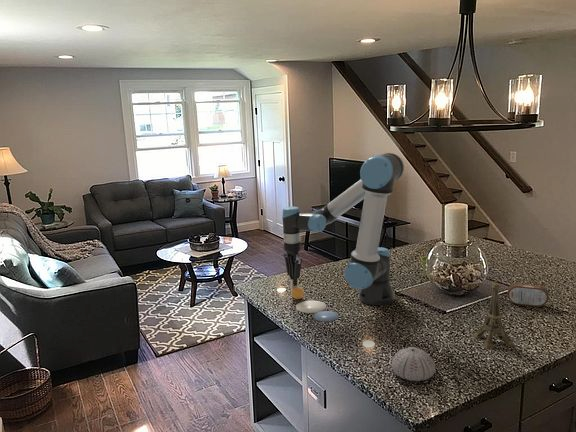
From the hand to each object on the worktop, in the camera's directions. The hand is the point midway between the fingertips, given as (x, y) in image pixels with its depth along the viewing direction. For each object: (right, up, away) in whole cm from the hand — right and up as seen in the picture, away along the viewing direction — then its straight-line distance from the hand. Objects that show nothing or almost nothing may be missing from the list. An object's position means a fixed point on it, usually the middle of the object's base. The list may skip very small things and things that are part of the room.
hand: (294, 291), depth 215 cm
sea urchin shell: (+36, -15, -67) cm, 78 cm away
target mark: (+7, -4, -12) cm, 15 cm away
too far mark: (+13, -6, -23) cm, 27 cm away
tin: (+95, -2, -21) cm, 97 cm away
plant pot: (+67, +5, +17) cm, 69 cm away
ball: (+1, 0, -3) cm, 3 cm away
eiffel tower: (+69, -9, -49) cm, 85 cm away
